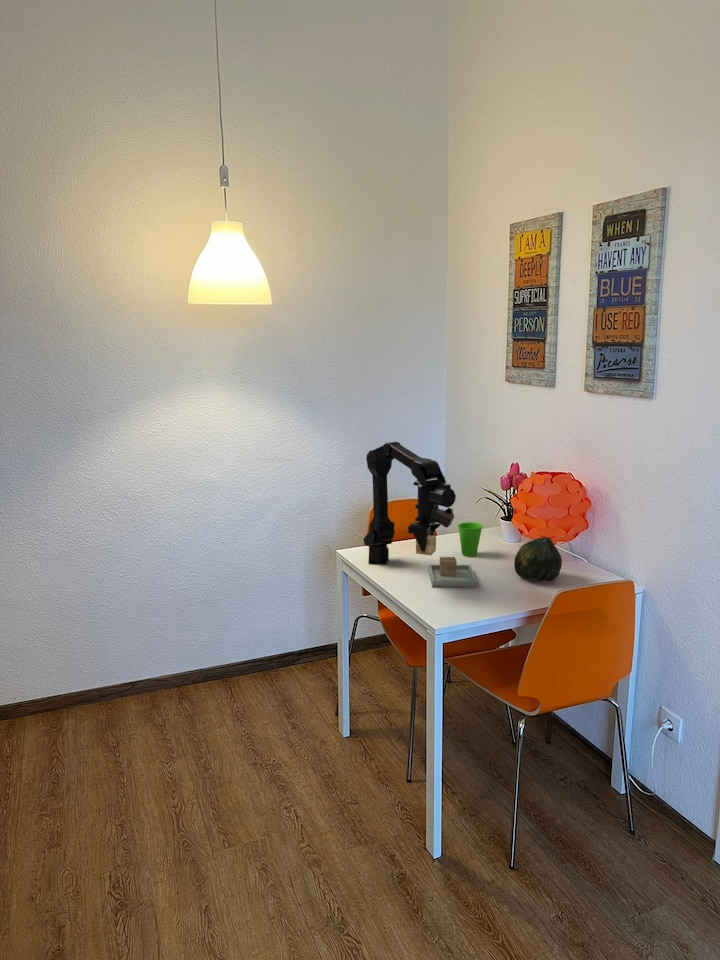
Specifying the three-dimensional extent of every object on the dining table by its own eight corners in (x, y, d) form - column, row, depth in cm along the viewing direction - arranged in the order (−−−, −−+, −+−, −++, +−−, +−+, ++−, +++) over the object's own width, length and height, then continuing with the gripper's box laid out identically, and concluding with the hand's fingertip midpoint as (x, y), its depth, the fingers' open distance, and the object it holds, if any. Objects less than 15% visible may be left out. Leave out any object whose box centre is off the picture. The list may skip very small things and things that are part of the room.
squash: (501, 556, 232) (522, 531, 221) (537, 552, 238) (559, 528, 227) (518, 593, 224) (541, 570, 213) (555, 588, 230) (579, 565, 219)
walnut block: (439, 571, 232) (439, 556, 231) (454, 571, 232) (454, 556, 231) (440, 576, 227) (441, 561, 226) (456, 576, 227) (456, 561, 226)
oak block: (415, 553, 219) (416, 538, 218) (420, 549, 224) (421, 534, 223) (431, 555, 217) (431, 540, 216) (435, 551, 222) (436, 535, 221)
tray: (432, 587, 219) (432, 581, 218) (428, 570, 235) (428, 564, 234) (476, 587, 219) (477, 581, 218) (470, 570, 234) (470, 564, 234)
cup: (480, 551, 255) (482, 522, 253) (482, 559, 246) (483, 529, 244) (456, 550, 256) (457, 521, 253) (457, 558, 247) (458, 528, 245)
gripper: (442, 510, 206) (441, 560, 209) (459, 497, 222) (458, 544, 226) (407, 506, 210) (406, 556, 213) (426, 494, 227) (425, 540, 230)
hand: (426, 549), depth 220 cm, fingers closed on oak block, 5 cm apart
